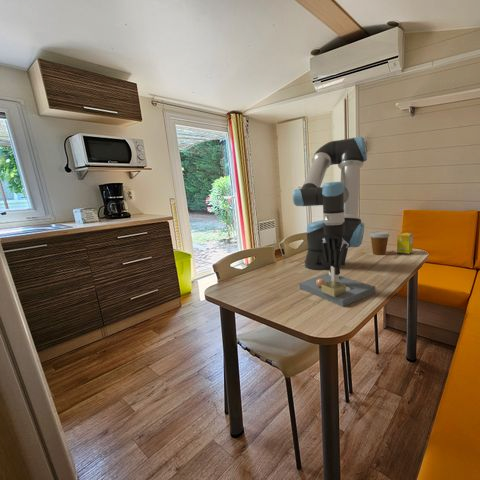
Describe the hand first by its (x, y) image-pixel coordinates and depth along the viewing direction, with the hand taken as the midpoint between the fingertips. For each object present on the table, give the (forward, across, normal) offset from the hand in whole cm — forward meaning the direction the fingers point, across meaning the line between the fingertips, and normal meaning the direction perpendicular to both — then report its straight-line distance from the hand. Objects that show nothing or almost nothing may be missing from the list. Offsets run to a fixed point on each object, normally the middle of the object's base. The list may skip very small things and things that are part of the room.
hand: (335, 281), depth 105 cm
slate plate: (+4, +1, -1) cm, 4 cm away
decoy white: (-1, -5, +5) cm, 7 cm away
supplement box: (+5, -8, +66) cm, 66 cm away
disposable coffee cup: (+5, -17, +57) cm, 59 cm away
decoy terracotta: (-1, -2, -6) cm, 7 cm away
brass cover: (+1, +5, -7) cm, 9 cm away
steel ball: (+2, +6, -1) cm, 7 cm away
